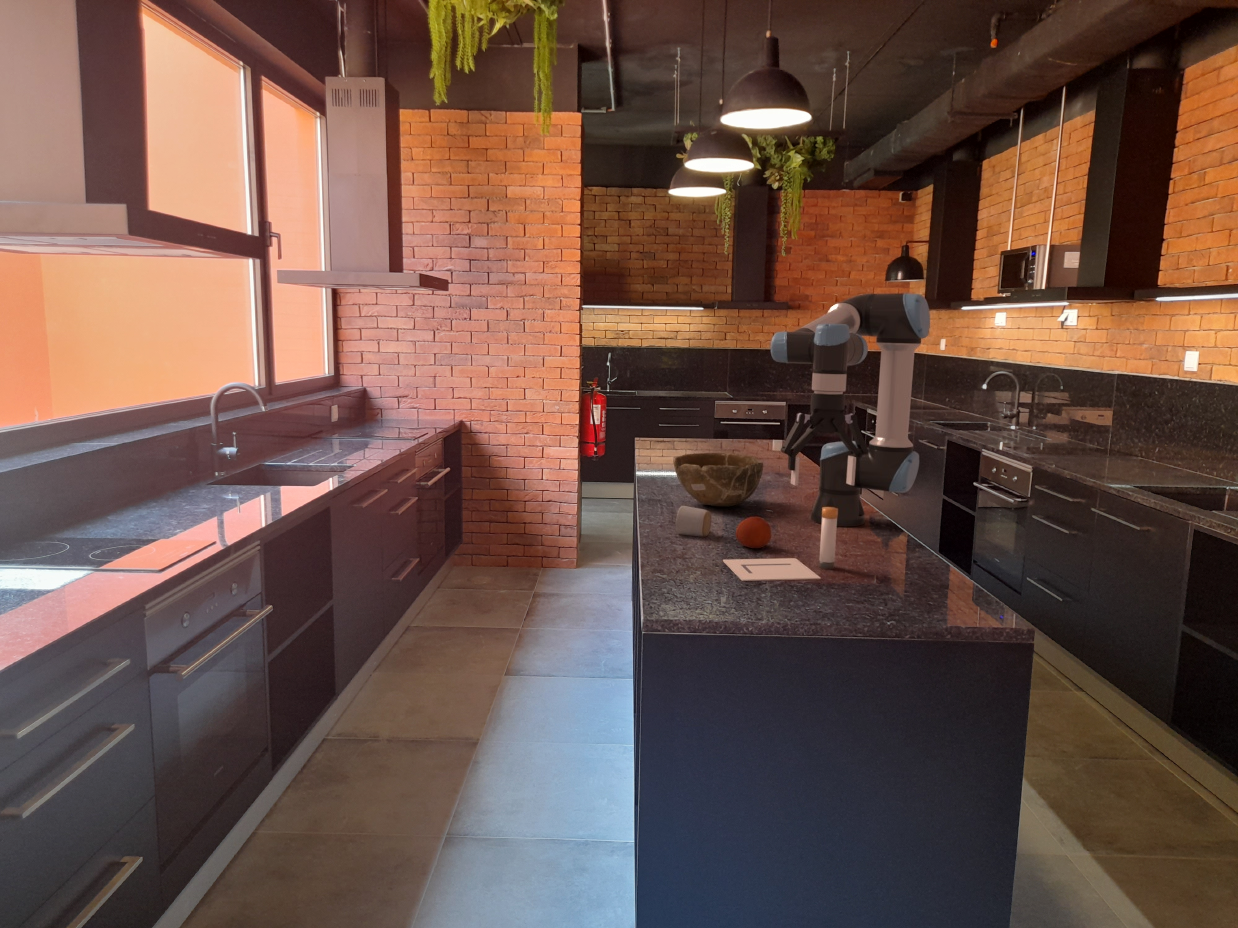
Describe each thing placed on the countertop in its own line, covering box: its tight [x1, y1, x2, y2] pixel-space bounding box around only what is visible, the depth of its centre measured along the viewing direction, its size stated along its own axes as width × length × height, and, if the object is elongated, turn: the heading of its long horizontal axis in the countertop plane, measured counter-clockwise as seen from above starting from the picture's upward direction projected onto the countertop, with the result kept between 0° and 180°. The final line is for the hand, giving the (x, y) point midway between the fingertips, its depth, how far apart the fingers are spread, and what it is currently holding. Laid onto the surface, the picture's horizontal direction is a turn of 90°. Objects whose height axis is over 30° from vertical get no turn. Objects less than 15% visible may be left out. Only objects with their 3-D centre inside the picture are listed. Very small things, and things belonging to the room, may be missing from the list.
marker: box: [818, 507, 838, 570], centre depth 196 cm, size 4×4×14 cm
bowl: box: [673, 452, 764, 508], centre depth 261 cm, size 28×27×15 cm
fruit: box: [735, 515, 772, 549], centre depth 213 cm, size 9×9×8 cm
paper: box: [722, 557, 822, 582], centre depth 194 cm, size 18×16×1 cm
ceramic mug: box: [675, 505, 712, 538], centre depth 226 cm, size 11×8×8 cm
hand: (822, 484), depth 195 cm, fingers open, 13 cm apart
